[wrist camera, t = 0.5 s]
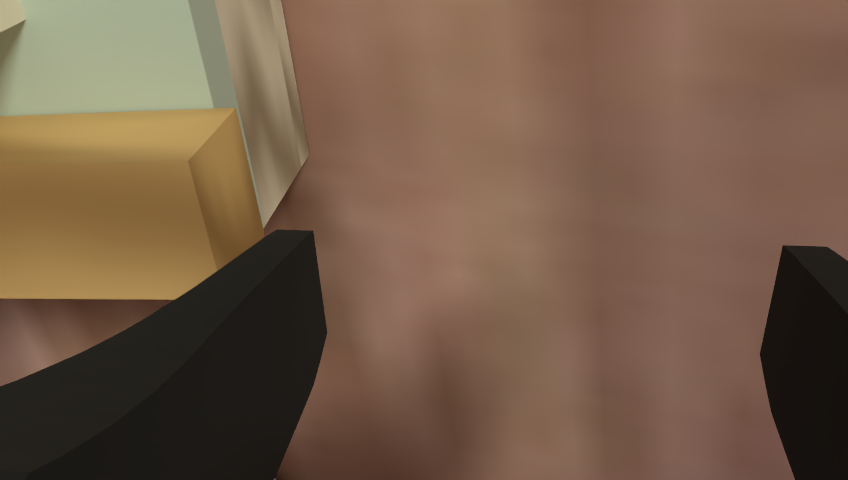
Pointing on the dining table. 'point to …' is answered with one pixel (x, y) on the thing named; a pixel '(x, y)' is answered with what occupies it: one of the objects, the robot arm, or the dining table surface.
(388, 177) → the dining table surface
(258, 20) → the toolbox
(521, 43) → the dining table surface
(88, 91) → the lid
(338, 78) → the dining table surface
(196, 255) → the golden block
